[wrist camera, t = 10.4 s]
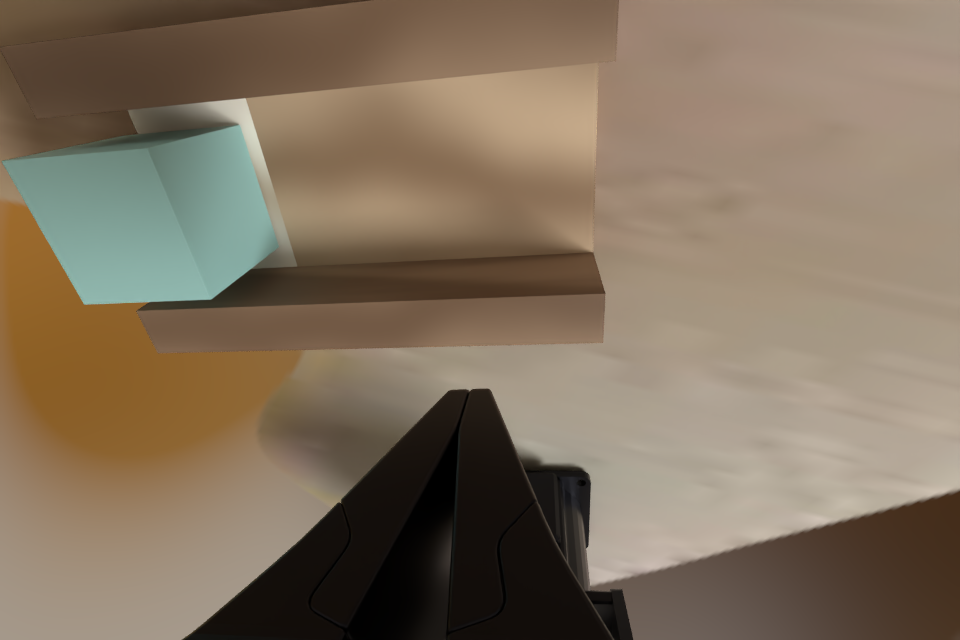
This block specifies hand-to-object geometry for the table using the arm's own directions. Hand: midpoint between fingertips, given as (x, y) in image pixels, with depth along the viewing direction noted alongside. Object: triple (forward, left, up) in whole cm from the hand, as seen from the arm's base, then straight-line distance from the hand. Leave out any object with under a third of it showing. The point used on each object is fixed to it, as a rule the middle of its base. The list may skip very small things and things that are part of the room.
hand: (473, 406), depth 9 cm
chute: (+2, +5, -12) cm, 13 cm away
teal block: (+2, +12, -11) cm, 17 cm away
